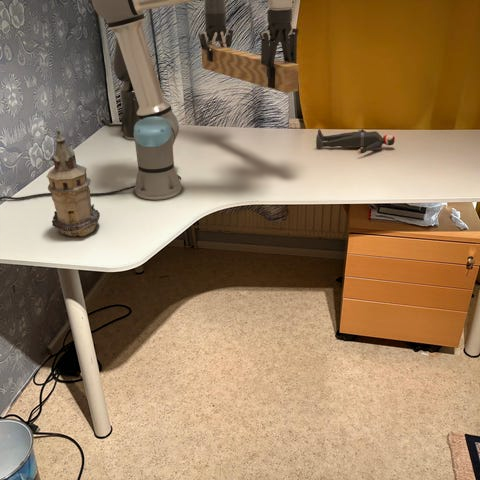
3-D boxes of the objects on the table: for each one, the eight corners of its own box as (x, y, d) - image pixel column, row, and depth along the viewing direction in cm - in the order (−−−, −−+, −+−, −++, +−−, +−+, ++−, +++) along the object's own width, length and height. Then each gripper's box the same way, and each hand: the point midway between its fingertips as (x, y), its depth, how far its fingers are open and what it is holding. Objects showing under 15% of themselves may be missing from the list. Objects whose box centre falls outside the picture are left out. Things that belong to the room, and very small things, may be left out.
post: (298, 90, 171) (298, 64, 167) (285, 93, 168) (286, 66, 164) (213, 66, 207) (212, 44, 204) (202, 68, 205) (201, 46, 201)
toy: (319, 122, 224) (394, 122, 218) (319, 137, 227) (392, 137, 221) (314, 142, 202) (397, 143, 196) (314, 158, 205) (395, 159, 199)
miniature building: (80, 214, 164) (63, 117, 149) (111, 225, 157) (96, 125, 142) (44, 231, 154) (22, 130, 140) (75, 244, 147) (55, 139, 133)
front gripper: (295, 5, 170) (292, 79, 181) (248, 10, 161) (249, 88, 173) (310, 7, 164) (307, 84, 176) (263, 12, 156) (263, 92, 167)
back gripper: (226, 8, 197) (227, 56, 206) (192, 12, 191) (195, 61, 199) (237, 10, 192) (238, 59, 200) (203, 14, 185) (205, 64, 194)
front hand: (278, 85), depth 174 cm, fingers closed on post, 5 cm apart
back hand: (217, 60), depth 200 cm, fingers closed on post, 5 cm apart
